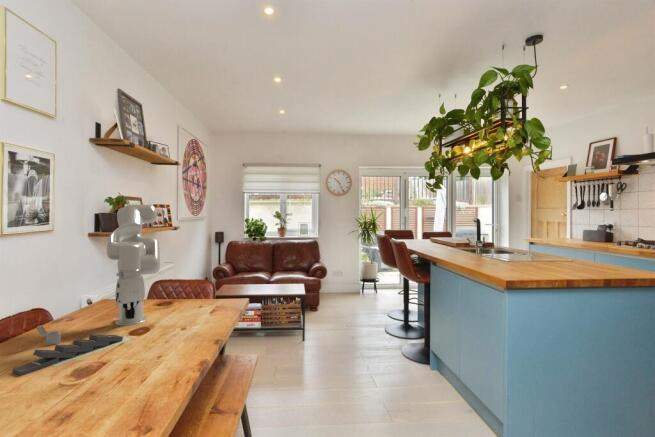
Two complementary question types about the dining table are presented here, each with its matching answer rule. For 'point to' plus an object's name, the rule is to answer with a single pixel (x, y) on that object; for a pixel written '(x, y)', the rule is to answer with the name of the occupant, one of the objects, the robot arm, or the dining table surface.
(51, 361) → the domino
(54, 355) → the domino
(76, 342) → the domino
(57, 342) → the lighter
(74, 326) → the dining table surface
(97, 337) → the domino
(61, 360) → the mat
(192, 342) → the dining table surface
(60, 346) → the domino
